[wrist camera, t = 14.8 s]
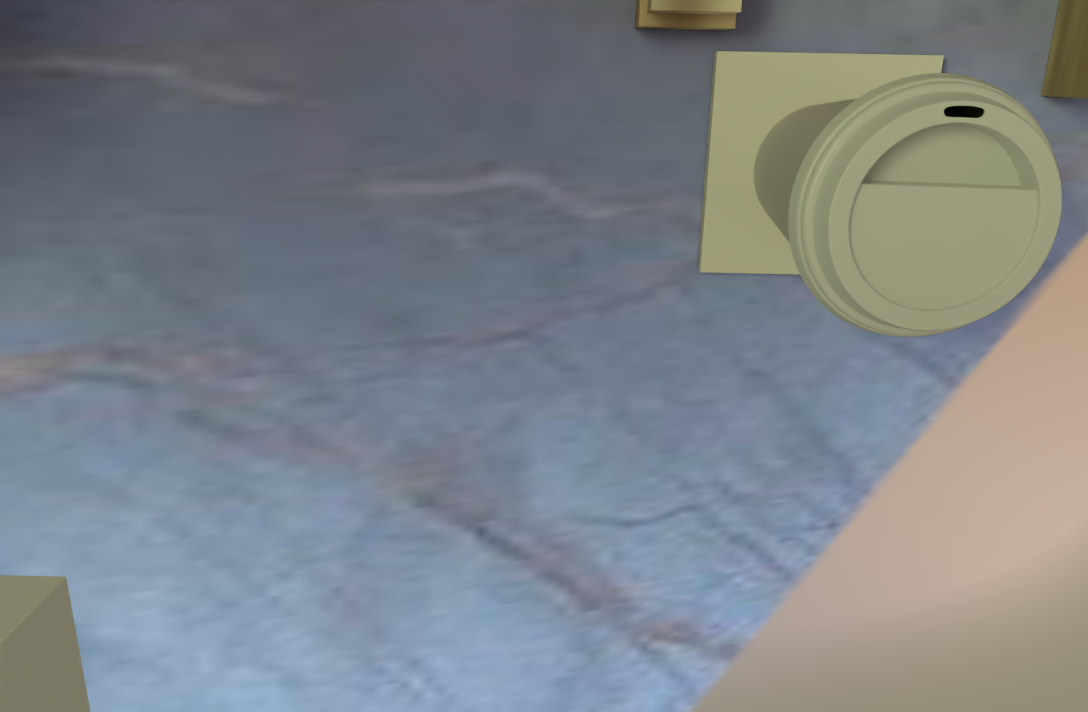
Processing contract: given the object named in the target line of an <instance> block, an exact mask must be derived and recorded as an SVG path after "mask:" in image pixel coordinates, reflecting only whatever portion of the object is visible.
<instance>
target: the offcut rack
mask: <svg viewBox="0 0 1088 712" xmlns="http://www.w3.org/2000/svg"><path fill="white" fill-rule="evenodd" d="M1041 96H1049V97H1066V98H1084V99H1088V0H1060V1H1059V6H1058V11H1057V17H1056V22H1055V27H1054V32H1053V37H1052V42H1051V48H1050V53H1049V58H1048V63H1047V68H1046V73H1045V79H1044V84H1043V89H1042V94H1041Z"/></svg>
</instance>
